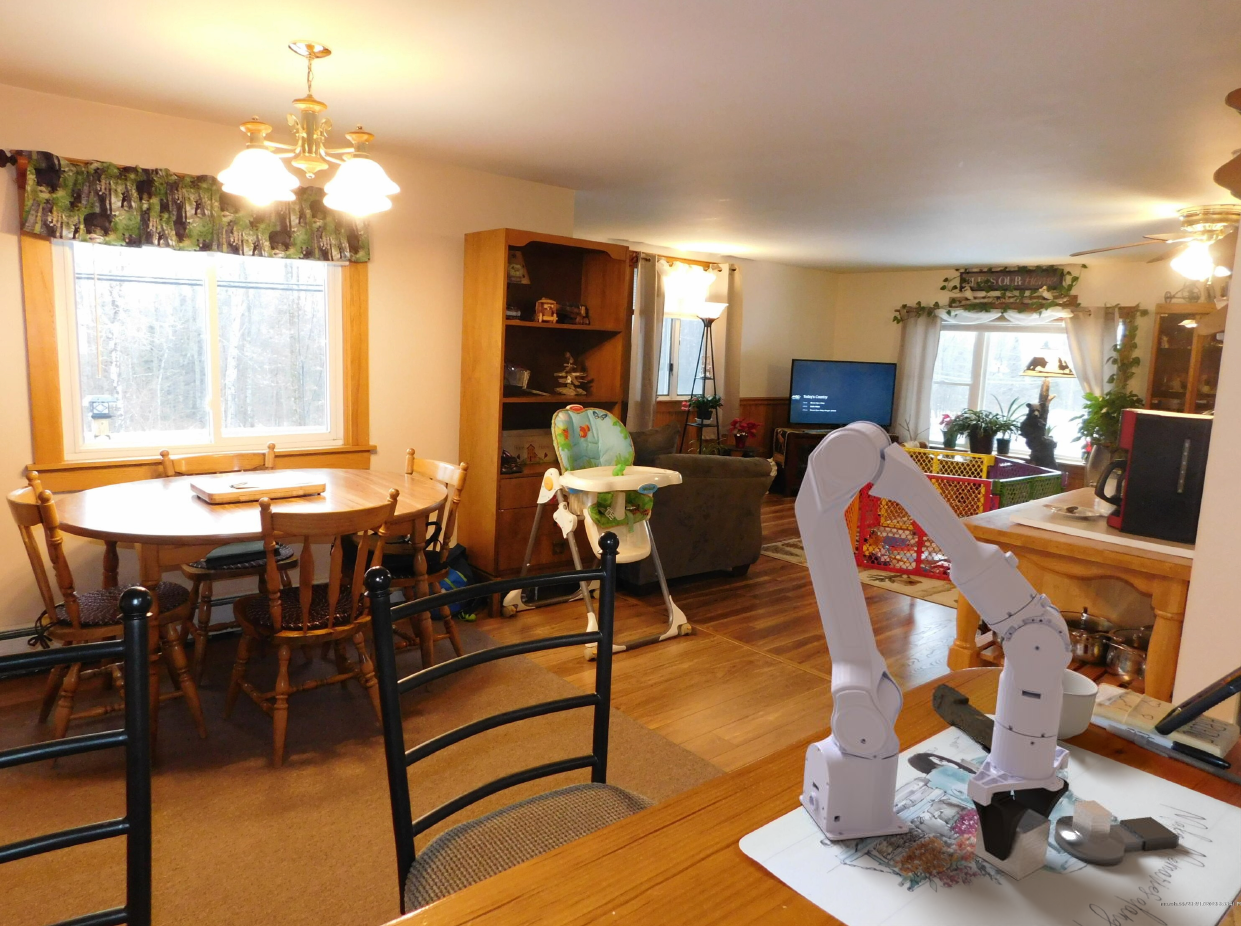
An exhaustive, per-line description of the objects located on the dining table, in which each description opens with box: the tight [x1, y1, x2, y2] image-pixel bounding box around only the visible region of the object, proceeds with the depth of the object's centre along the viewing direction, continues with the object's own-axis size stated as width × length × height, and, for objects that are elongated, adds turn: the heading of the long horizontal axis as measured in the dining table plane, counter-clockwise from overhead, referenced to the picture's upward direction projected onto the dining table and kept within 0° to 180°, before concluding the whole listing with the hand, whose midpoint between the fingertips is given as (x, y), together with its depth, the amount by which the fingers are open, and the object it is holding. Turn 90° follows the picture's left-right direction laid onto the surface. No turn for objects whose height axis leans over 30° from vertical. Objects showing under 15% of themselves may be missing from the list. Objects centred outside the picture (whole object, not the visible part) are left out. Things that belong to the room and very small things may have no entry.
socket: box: [974, 809, 1052, 881], centre depth 82 cm, size 5×5×5 cm
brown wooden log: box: [931, 683, 995, 750], centre depth 108 cm, size 19×4×5 cm, turn 13°
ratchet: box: [1053, 800, 1180, 868], centre depth 85 cm, size 13×6×5 cm, turn 102°
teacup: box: [1057, 668, 1100, 740], centre depth 109 cm, size 14×11×8 cm
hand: (1011, 846), depth 82 cm, fingers closed on socket, 5 cm apart
